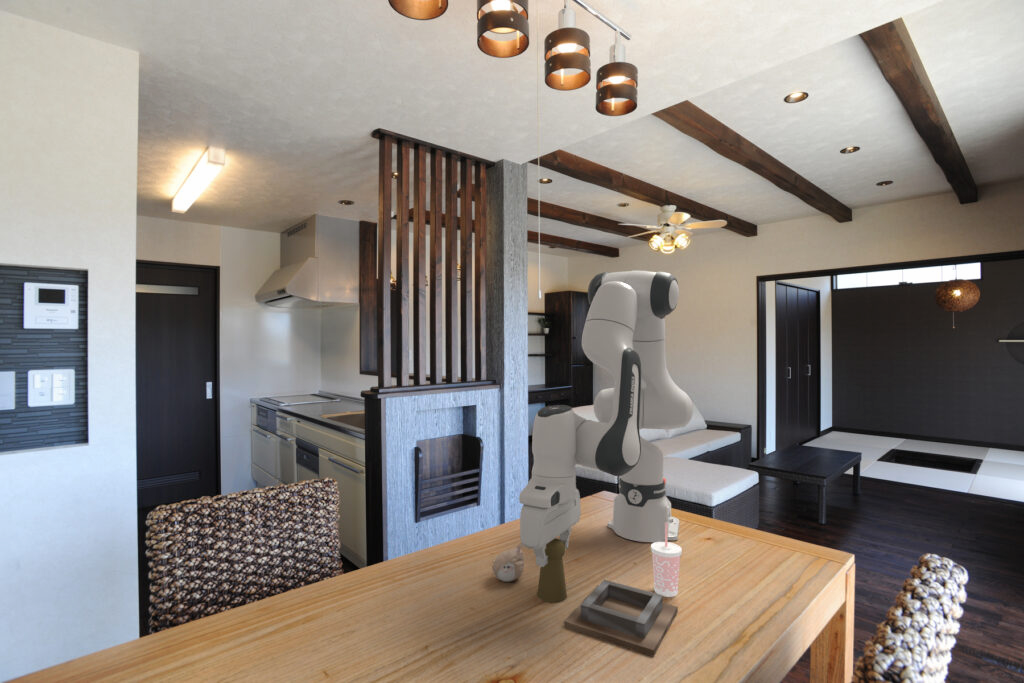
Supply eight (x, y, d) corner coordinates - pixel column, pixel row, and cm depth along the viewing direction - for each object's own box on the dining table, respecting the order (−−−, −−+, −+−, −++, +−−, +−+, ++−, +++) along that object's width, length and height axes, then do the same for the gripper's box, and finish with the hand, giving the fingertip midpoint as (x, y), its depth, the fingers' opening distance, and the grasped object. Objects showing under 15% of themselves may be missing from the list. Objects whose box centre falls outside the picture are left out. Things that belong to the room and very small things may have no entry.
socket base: (597, 589, 103) (598, 572, 103) (677, 612, 95) (677, 593, 95) (564, 626, 89) (564, 606, 89) (653, 656, 81) (653, 634, 81)
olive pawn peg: (565, 604, 97) (566, 547, 97) (534, 600, 98) (535, 544, 98) (568, 589, 103) (568, 535, 103) (539, 586, 104) (539, 533, 104)
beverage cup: (644, 588, 104) (644, 520, 104) (664, 581, 107) (664, 515, 107) (667, 601, 98) (668, 530, 99) (688, 593, 102) (688, 524, 102)
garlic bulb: (514, 589, 103) (514, 550, 103) (487, 582, 106) (487, 544, 106) (528, 576, 109) (528, 539, 109) (502, 570, 112) (502, 534, 112)
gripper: (561, 474, 111) (560, 537, 111) (514, 496, 94) (513, 571, 93) (588, 478, 108) (587, 543, 107) (544, 502, 90) (543, 579, 90)
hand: (552, 556), depth 100 cm, fingers open, 8 cm apart
